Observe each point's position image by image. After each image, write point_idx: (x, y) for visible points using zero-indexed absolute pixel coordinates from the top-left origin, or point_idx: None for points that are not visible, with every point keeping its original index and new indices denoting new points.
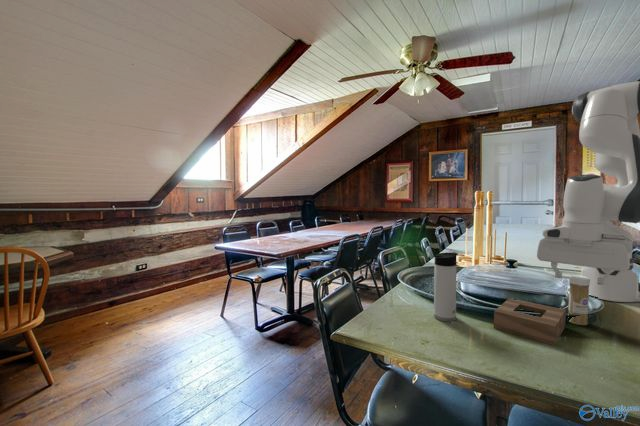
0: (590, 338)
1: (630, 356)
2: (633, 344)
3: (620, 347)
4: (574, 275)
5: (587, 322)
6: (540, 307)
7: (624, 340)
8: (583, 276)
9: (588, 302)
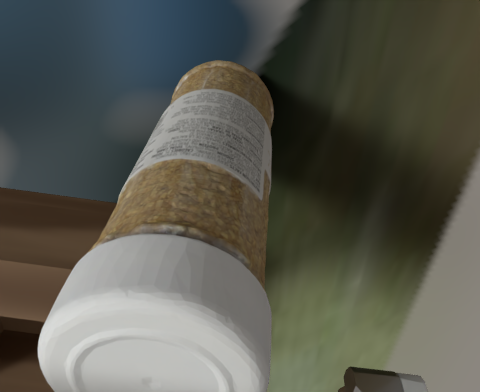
0: (275, 274)
1: (383, 345)
2: (433, 251)
3: (371, 299)
4: (75, 338)
5: (271, 125)
6: (33, 305)
7: (409, 228)
8: (187, 348)
9: (270, 182)
